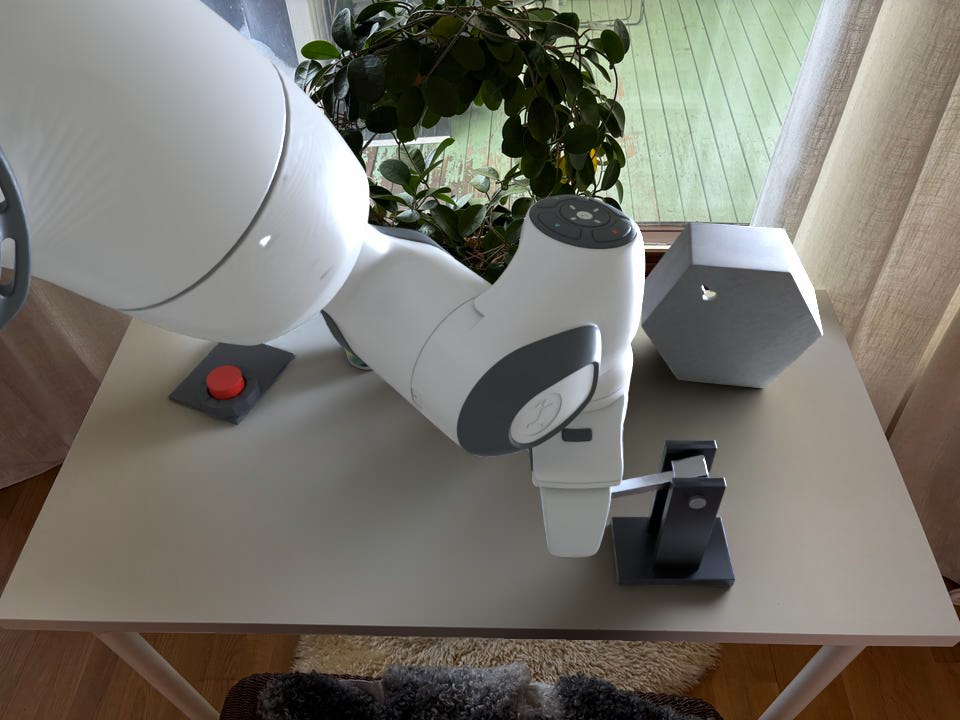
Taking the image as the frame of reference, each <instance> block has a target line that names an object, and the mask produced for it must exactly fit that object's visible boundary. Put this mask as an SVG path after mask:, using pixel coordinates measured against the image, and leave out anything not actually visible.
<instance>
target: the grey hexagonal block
mask: <svg viewBox="0 0 960 720" xmlns="http://www.w3.org/2000/svg"><path fill="white" fill-rule="evenodd" d="M704 286H706V288H707V290H708V291H709V292H710V293H715V294H714V295H713V296H709V297H708V296H706V295H705V294H706V289H705V288H704ZM640 323H641V324H640V325H641V326H640V327H641V328H642V330H643V332H644V333H645V335H647V337H648V339H649V340H650V341H651V343H652V344H653V346H654V348H655V349H656V350H657V352H658V353H659V355H660V356H661V358H662V359H663V360H664V362H665V363H666V365H667V366H668V367H669V369H670V370H671V372H672V374H673V375H674V376H675V378H676V379H677V380H678V381H686V382H695V383H705V384H714V385H725V386H734V387H744V388H745V387H746V388H756V389H765V388H768V387H769V386H770V385H771V384H772V383H773V382H774V381H775V380H776V379H778V378H779V377H780V376H781V375H782V374H783V373H784V372H785V371H786V370H787V369H789V367H791V365H793V364H794V363H795V362H796V361H797V360H798V359H799V358H800V357H801V356H802V355H803V354H804V353H805V352H806V351H807V350H809V349H810V348H811V347H812V346H813V345H814V344H815V343H816V342H818V341H819V339H821V338H822V336H823V335H824V332H823V328H822V323H821V318H820V314H819V308H818V303H817V298H816V293H815V289H814V287H813V285H812V283H811V281H810V279H809V277H808V274H807V273H806V271H805V268H804V267H803V264H802V263H801V261H800V258H799V257H798V255H797V252H796V250H795V248H794V247H793V244H792V242H791V241H790V239H789V236H788V234H787V233H786V230H785V229H784V228H776V227H775V228H774V227H762V226H749V225H747V226H746V225H735V224H722V223H707V222H694V221H690V222H688V223H687V224H686V226H684V228H683V229H682V231H681V232H680V233H679V234H678V236H677V237H676V238H675V240H674V241H673V242H672V244H671V245H670V247H668V249H667V250H666V251H665V253H664V254H663V256H662V257H661V258H660V260H659V261H658V262H657V263H656V265H655V266H654V267H653V269H652V270H651V271H650V273H649V274H648V275H647V276H646V277H645V278H644V291H643V300H642V308H641V317H640Z"/></svg>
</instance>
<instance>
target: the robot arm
mask: <svg viewBox="0 0 960 720" xmlns="http://www.w3.org/2000/svg"><path fill="white" fill-rule="evenodd" d="M369 215H370V184H369V180H368V176H367V173H366V171H365V169H364V167H363V165H362V164H361V162H360V161H359V160H358V158H357V157H356V155H355V154H354V152H353V151H352V149H351V148H350V146H349V145H348V143H347V142H346V141H345V139H344V137H343V136H342V135H341V134H340V133H339V131H338V130H337V128H336V127H335V126H334V124H333V122H331V121H330V119H329V118H328V117H327V116H326V114H325V113H324V112H323V110H321V109H320V107H319V106H318V105H317V104H316V103H315V102H314V101H313V100H312V99H311V97H310V96H309V95H308V94H307V93H306V92H305V91H304V90H303V89H302V88H301V87H300V86H299V85H298V84H297V83H296V82H295V81H294V80H293V79H291V77H289V75H287V73H285V72H284V71H283V69H281V68H280V67H279V66H278V65H277V64H276V63H275V62H274V61H272V60H271V58H269V57H268V56H267V55H266V54H265V53H264V52H262V51H261V49H259V47H257V46H256V45H254V44H253V43H252V42H251V41H250V40H249V39H248V38H246V37H245V36H244V35H243V34H242V33H241V32H239V30H237V29H236V28H235V27H234V26H233V25H231V24H230V23H229V22H228V21H227V20H225V19H224V18H223V17H222V16H220V15H219V14H218V13H217V12H216V11H214V10H213V9H211V8H210V7H209V6H208V5H207V4H205V3H204V2H203V1H201V0H0V280H1V278H2V268H6V269H10V270H13V272H12V278H11V281H10V282H8V283H6V284H2V283H0V332H1V331H2V330H3V329H4V328H5V327H6V326H7V325H8V324H9V323H10V322H12V320H13V319H14V318H15V317H16V316H17V315H18V314H19V312H20V311H21V309H22V308H23V306H24V304H25V302H26V300H27V299H28V296H29V292H30V288H31V278H32V277H35V278H38V279H40V280H43V281H44V282H45V281H46V282H47V283H50V284H53V285H55V286H58V287H60V288H62V289H65V290H67V291H69V292H72V293H74V294H76V295H79V296H80V297H83V298H85V299H88V300H90V301H92V302H95V303H97V304H100V305H102V306H104V307H107V308H108V309H112V310H114V311H117V312H119V313H121V314H124V315H126V316H129V317H132V318H134V319H135V320H139V321H141V322H143V323H146V324H149V325H152V326H154V327H157V328H160V329H163V330H166V331H169V332H173V333H176V334H179V335H183V336H187V337H190V338H195V339H199V340H204V341H209V342H215V343H219V342H220V343H227V344H235V345H245V346H252V345H258V344H262V343H263V344H266V343H269V342H271V341H273V340H276V339H278V338H280V337H283V336H285V335H287V334H288V333H290V332H292V331H295V330H296V329H298V328H299V327H301V326H302V325H304V324H305V323H307V322H308V321H309V320H310V319H312V318H313V317H315V316H316V315H317V314H318V313H320V314H321V316H322V317H323V320H324V323H325V324H326V327H327V328H328V330H329V332H330V333H331V334H332V336H333V338H334V339H335V341H336V342H337V343H338V344H339V345H340V346H341V347H342V348H343V349H344V350H345V349H346V350H347V351H349V352H350V353H351V354H352V355H354V356H355V357H356V358H358V359H359V360H360V361H362V362H363V363H365V364H366V365H368V366H369V367H370V368H371V369H370V370H372V371H374V372H375V373H376V374H377V375H378V376H379V377H380V378H382V380H384V381H385V382H386V383H387V384H388V385H389V386H390V387H392V389H394V390H395V391H396V392H397V393H398V394H399V395H400V396H402V397H403V398H404V399H405V400H406V401H407V402H408V403H410V404H411V405H412V406H413V407H414V408H415V409H416V410H417V411H418V412H419V413H421V414H422V415H423V416H424V417H425V418H426V419H428V420H429V422H431V423H432V424H433V425H434V426H435V427H436V428H438V429H439V430H440V431H441V432H442V433H443V434H444V435H446V436H447V437H448V438H449V439H450V440H452V441H453V442H454V443H455V444H457V446H458V447H460V448H461V449H462V450H463V451H464V452H466V453H467V454H469V455H471V456H474V457H475V456H476V457H483V458H484V457H485V458H486V457H487V458H490V457H492V458H493V457H501V456H508V455H512V454H516V453H519V452H523V451H528V456H529V465H530V467H529V468H530V472H531V477H532V483H533V485H534V486H535V487H539V492H540V501H541V509H542V514H543V515H542V516H543V524H544V533H545V539H546V545H547V549H548V551H549V553H550V554H551V555H553V556H555V557H562V558H586V557H591V556H593V555H595V554H597V552H598V551H599V549H600V546H601V543H602V540H603V537H604V533H605V528H606V525H607V522H608V516H609V513H610V507H611V501H612V499H611V491H612V487H613V486H619V485H620V484H621V481H622V480H623V476H624V459H625V455H624V422H625V419H626V414H627V409H628V403H629V402H628V401H629V391H630V384H631V383H630V382H631V377H632V371H633V363H634V356H633V350H632V345H631V343H632V341H633V340H634V338H635V337H636V334H637V331H638V330H639V325H640V323H641V316H642V300H643V291H644V281H645V279H646V277H645V275H646V274H645V273H646V256H645V255H646V254H645V246H644V241H643V236H642V233H641V231H640V227H639V226H638V224H637V222H636V221H635V220H634V219H632V218H631V217H630V216H629V215H627V214H626V213H625V212H623V211H621V210H620V209H618V208H616V207H614V206H613V205H611V204H609V203H606V202H604V201H602V200H601V199H600V200H599V199H597V198H595V197H592V196H586V195H585V196H584V195H576V194H559V195H552V196H548V197H544V198H542V199H539V200H537V201H535V202H534V203H532V205H531V206H530V207H529V208H528V210H527V212H526V213H525V217H524V219H523V223H522V225H521V226H522V227H521V232H520V236H519V243H518V247H517V249H516V252H515V253H514V255H513V257H512V259H511V260H510V262H509V263H508V265H507V267H506V268H505V269H504V271H503V272H502V274H501V275H500V276H499V277H498V279H497V280H496V281H495V282H494V283H493V284H492V283H490V282H489V281H487V280H486V279H484V278H483V277H482V276H480V275H478V274H477V273H476V272H474V271H473V270H472V269H470V268H468V267H467V266H465V265H464V264H463V263H461V262H460V261H458V260H457V259H455V257H454V256H453V255H451V253H450V252H448V251H447V250H446V249H445V248H443V247H442V246H441V245H440V244H438V243H437V242H436V241H435V240H434V239H432V238H431V237H430V236H428V235H427V234H425V233H422V232H420V231H418V230H414V229H410V228H405V227H404V228H403V227H394V226H393V227H391V226H381V225H376V224H372V223H369ZM31 276H32V277H31ZM346 350H345V351H346Z"/></svg>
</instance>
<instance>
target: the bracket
mask: <svg viewBox="0 0 960 720" xmlns="http://www.w3.org/2000/svg"><path fill="white" fill-rule="evenodd" d="M717 450H718V446H717V443H716V440H715V439H699V440H697V439H694V440H693V439H690V440H689V439H687V440H686V439H683V440H682V439H678V440H677V439H675V440H673V439H672V440H671V439H669V440H664V445H663V448H662V452H661V457H660V462H659V465H658V470H657V474H658V473H663V472H668V471H673V468H672V461H673V460H678V459H683V458H688V457H693V456H698V455H704V459H705V462H706V466H707V469H708V474H709V475H710V474H711V470H712V466H713V464H714V460H715V457H716V453H717ZM726 490H727V483H726V479H725V477H721V476H720V477H716V476H715V477H709V478H672V480H671V484H670V488H666V489H661V490H656V491H652V497H651V502H650V506H649V509H648V510H649V511H648V514H647V516H611V520H610V529H611V537H612V546H613V547H612V548H613V554H614V555H613V556H614V563H615V573H616V581H617V586H680V587H681V586H688V587H689V586H693V587H694V586H695V587H696V586H697V587H698V586H699V587H700V586H704V587H705V586H706V587H707V586H708V587H710V586H711V587H712V586H715V587H716V586H717V587H719V586H723V587H730V586H731V587H732V586H734V584H735V582H736V575H735V571H734V567H733V561H732V558H731V553H730V549H729V545H728V542H727V536H726V532H725V528H724V523H723V520H722V517H721V516H718V514H719V510H720V507H721V504H722V500H723V498H724V495H725V492H726Z"/></svg>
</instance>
